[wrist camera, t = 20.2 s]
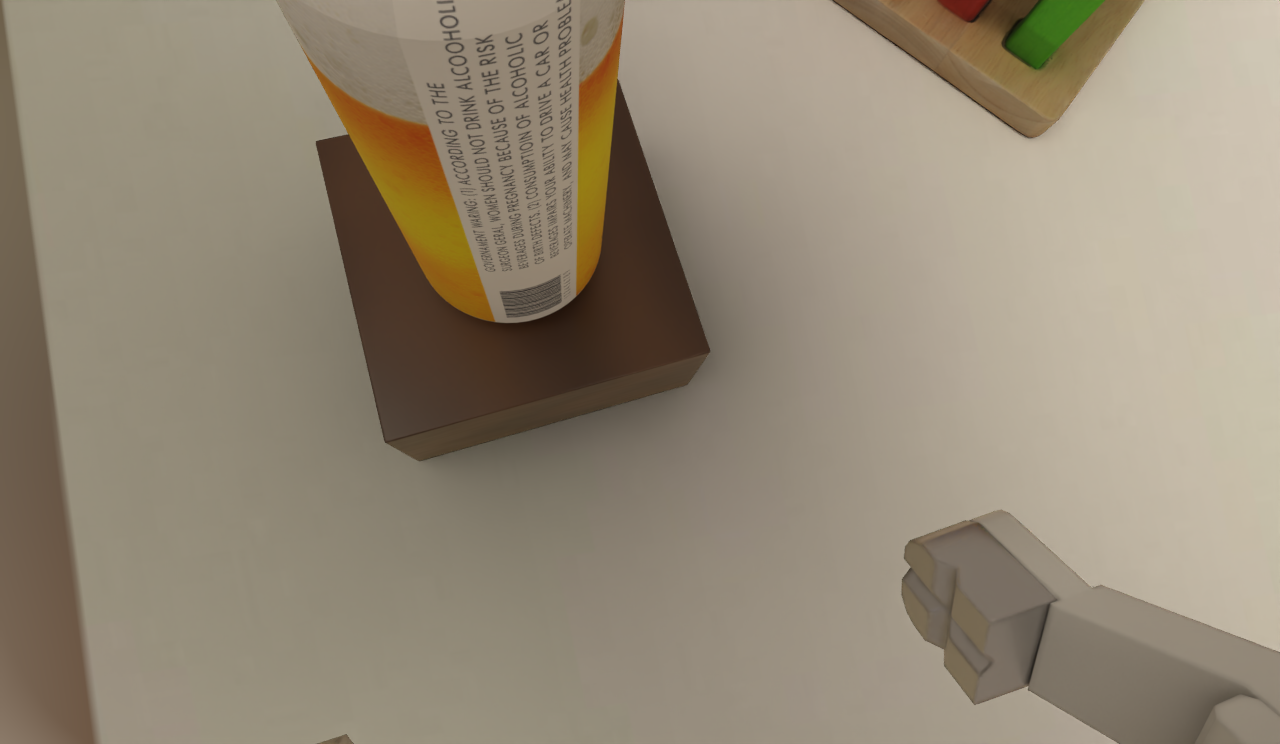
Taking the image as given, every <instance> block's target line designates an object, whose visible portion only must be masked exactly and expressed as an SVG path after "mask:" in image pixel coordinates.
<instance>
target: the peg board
mask: <svg viewBox="0 0 1280 744" xmlns="http://www.w3.org/2000/svg"><path fill="white" fill-rule="evenodd" d="M834 1H835V2H837V3H838V4H840V5H841V6H842V7H844V8H845V9H847V10H848V11H850V12H851V13H852V14H854V15H855V16H857V17H858V18H859V19H861V20H862V21H864V22H865V23H866V24H868V25H869V26H871V27H872V28H873V29H875V30H876V31H878V32H879V33H881V34H882V35H883V36H885V37H886V38H888V39H889V40H891V41H892V42H893V43H895V44H896V45H898V46H899V47H901V48H902V49H903V50H905V51H906V52H908V53H909V54H911V55H912V56H913V57H915V58H916V59H918V60H919V61H921V62H922V63H923V64H925V65H926V66H928V67H929V68H931V69H932V70H934V71H935V72H936V73H937V74H939V75H940V76H941V77H943V78H944V79H946V80H947V81H949V82H950V83H951V84H953V85H954V86H956V87H957V88H958V89H960V90H961V91H962V92H964V93H965V94H967V95H968V96H970V97H971V98H972V99H974V100H975V101H976V102H978V103H979V104H981V105H982V106H983V107H985V108H986V109H988V110H989V111H991V112H992V113H993V114H995V115H996V116H998V117H999V118H1000V119H1002V120H1003V121H1004V122H1006V123H1007V124H1009V125H1010V126H1012V127H1013V128H1014V129H1016V130H1017V131H1019V132H1020V133H1022V134H1024V135H1025V136H1027V137H1037V136H1039V135H1041V134H1042V133H1044V132H1045V131H1046V130H1047V129H1048V128H1049V127H1051V126H1052V125H1053V124H1054V123H1055V122H1056V121H1057V120H1059V118H1060V117H1061V116H1062V114H1063V113H1064V112H1065V110H1066V109H1067V108H1068V106H1069V105H1070V103H1071V102H1072V101H1073V99H1074V98H1075V96H1076V95H1077V94H1078V92H1079V91H1080V89H1081V88H1082V87H1083V85H1084V84H1085V82H1086V81H1087V80H1088V78H1089V77H1090V76H1091V74H1092V73H1093V71H1094V70H1095V68H1096V67H1097V66H1098V65H1099V63H1100V62H1101V60H1102V59H1103V57H1104V56H1105V55H1106V53H1107V52H1108V51H1109V49H1110V48H1111V47H1112V45H1113V44H1114V42H1115V41H1116V39H1117V38H1118V36H1119V35H1120V34H1121V32H1122V31H1123V30H1124V28H1125V27H1126V25H1127V24H1128V23H1129V21H1130V20H1131V18H1132V17H1133V16H1134V14H1135V13H1136V11H1137V10H1138V9H1139V7H1140V6H1141V5H1142V3H1143V2H1144V0H834Z"/></svg>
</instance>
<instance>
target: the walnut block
mask: <svg viewBox="0 0 1280 744" xmlns="http://www.w3.org/2000/svg"><path fill="white" fill-rule="evenodd" d="M316 146H317V151H318V155H319V159H320V164H321V168H322V172H323V177H324V181H325V185H326V190H327V194H328V198H329V203H330V207H331V211H332V216H333V220H334V224H335V229H336V233H337V237H338V242H339V246H340V250H341V255H342V259H343V263H344V268H345V272H346V276H347V281H348V285H349V289H350V294H351V298H352V302H353V307H354V311H355V315H356V320H357V324H358V328H359V333H360V337H361V341H362V346H363V350H364V354H365V359H366V363H367V367H368V372H369V376H370V381H371V385H372V389H373V394H374V398H375V402H376V407H377V411H378V415H379V420H380V424H381V428H382V433H383V437H384V441H385V443H387V444H389V445H391V446H392V447H394V448H396V449H398V450H400V451H401V452H403V453H405V454H407V455H409V456H410V457H412V458H414V459H416V460H418V461H422V460H425V459H429V458H432V457H436V456H439V455H443V454H446V453H450V452H453V451H457V450H460V449H464V448H467V447H471V446H474V445H478V444H481V443H485V442H488V441H492V440H495V439H499V438H502V437H506V436H509V435H513V434H516V433H520V432H523V431H527V430H530V429H534V428H537V427H541V426H544V425H548V424H551V423H555V422H558V421H562V420H566V419H569V418H573V417H576V416H580V415H583V414H587V413H590V412H594V411H597V410H601V409H604V408H608V407H611V406H615V405H618V404H622V403H625V402H629V401H632V400H636V399H639V398H643V397H646V396H650V395H653V394H657V393H660V392H664V391H667V390H671V389H674V388H678V387H681V386H685V385H687V384H688V383H689V382H690V380H691V379H692V377H693V376H694V374H695V373H696V372H697V370H698V369H699V367H700V366H701V364H702V363H703V362H704V360H705V359H706V357H707V356H708V355H709V353H710V348H709V345H708V342H707V339H706V336H705V334H704V331H703V328H702V325H701V322H700V319H699V316H698V313H697V310H696V307H695V304H694V301H693V298H692V295H691V292H690V289H689V286H688V283H687V281H686V278H685V275H684V272H683V269H682V266H681V263H680V260H679V257H678V254H677V251H676V248H675V245H674V242H673V239H672V236H671V233H670V230H669V227H668V225H667V222H666V219H665V216H664V213H663V210H662V207H661V204H660V201H659V198H658V195H657V192H656V189H655V186H654V183H653V180H652V177H651V174H650V171H649V169H648V166H647V163H646V160H645V157H644V154H643V151H642V148H641V145H640V142H639V139H638V136H637V133H636V130H635V127H634V124H633V121H632V118H631V115H630V113H629V110H628V107H627V104H626V101H625V98H624V95H623V92H622V89H621V86H620V83H619V80H618V79H617V88H616V98H615V109H614V119H613V130H612V141H611V151H610V162H609V172H608V183H607V193H606V204H605V214H604V225H603V235H602V245H601V253H600V257H599V260H598V264H597V266H596V269H595V271H594V273H593V275H592V277H591V279H590V280H589V282H588V283H587V285H586V286H585V287H584V289H583V290H582V291H581V292H580V293H579V294H578V295H577V296H576V297H575V298H574V299H573V300H572V301H570V302H569V303H568V304H567V305H565V306H564V307H562V308H561V309H559V310H557V311H555V312H553V313H551V314H549V315H547V316H544V317H541V318H539V319H535V320H531V321H526V322H519V323H500V322H492V321H486V320H482V319H479V318H476V317H473V316H471V315H468V314H466V313H464V312H462V311H460V310H459V309H457V308H455V307H454V306H452V305H451V304H450V303H448V302H447V301H446V300H444V299H443V298H442V297H441V296H440V295H439V294H438V293H437V292H436V290H435V289H434V288H433V287H432V285H431V284H430V282H429V281H428V279H427V278H426V276H425V274H424V272H423V271H422V269H421V267H420V265H419V263H418V261H417V260H416V258H415V256H414V254H413V252H412V250H411V248H410V247H409V245H408V243H407V241H406V239H405V237H404V236H403V234H402V232H401V230H400V228H399V226H398V224H397V223H396V221H395V219H394V217H393V215H392V213H391V212H390V210H389V208H388V206H387V204H386V202H385V200H384V199H383V197H382V195H381V193H380V191H379V189H378V188H377V186H376V184H375V182H374V180H373V178H372V176H371V175H370V173H369V171H368V169H367V167H366V165H365V163H364V162H363V160H362V158H361V156H360V154H359V152H358V151H357V149H356V147H355V145H354V143H353V141H352V139H351V138H350V136H349V134H348V135H343V136H338V137H333V138H329V139H324V140H319V141H316Z"/></svg>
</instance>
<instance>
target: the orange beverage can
mask: <svg viewBox="0 0 1280 744" xmlns="http://www.w3.org/2000/svg"><path fill="white" fill-rule="evenodd" d="M276 1H277V3H278V5H279V7H280V8H281V10H282V12H283V14H284V16H285V18H286V19H287V21H288V23H289V25H290V27H291V29H292V31H293V32H294V34H295V36H296V38H297V40H298V42H299V43H300V45H301V47H302V49H303V51H304V53H305V55H306V56H307V58H308V60H309V62H310V64H311V66H312V67H313V69H314V71H315V73H316V75H317V77H318V79H319V80H320V82H321V84H322V86H323V88H324V90H325V91H326V93H327V95H328V97H329V99H330V101H331V103H332V104H333V106H334V108H335V110H336V112H337V114H338V115H339V117H340V119H341V121H342V123H343V125H344V127H345V128H346V130H347V132H348V134H349V136H350V138H351V139H352V141H353V143H354V145H355V147H356V149H357V151H358V152H359V154H360V156H361V158H362V160H363V162H364V163H365V165H366V167H367V169H368V171H369V173H370V175H371V176H372V178H373V180H374V182H375V184H376V186H377V188H378V189H379V191H380V193H381V195H382V197H383V199H384V200H385V202H386V204H387V206H388V208H389V210H390V212H391V213H392V215H393V217H394V219H395V221H396V223H397V224H398V226H399V228H400V230H401V232H402V234H403V236H404V237H405V239H406V241H407V243H408V245H409V247H410V248H411V250H412V252H413V254H414V256H415V258H416V260H417V261H418V263H419V265H420V267H421V269H422V271H423V272H424V274H425V276H426V278H427V279H428V281H429V282H430V284H431V285H432V287H433V288H434V289H435V290H436V292H437V293H438V294H439V295H440V296H441V297H442V298H443V299H444V300H446V301H447V302H448V303H450V304H451V305H452V306H454V307H455V308H457V309H459V310H460V311H462V312H464V313H466V314H468V315H471V316H473V317H476V318H479V319H482V320H486V321H492V322H500V323H519V322H526V321H531V320H535V319H539V318H541V317H544V316H547V315H549V314H551V313H553V312H555V311H557V310H559V309H561V308H562V307H564V306H565V305H567V304H568V303H569V302H570V301H572V300H573V299H574V298H575V297H576V296H577V295H578V294H579V293H580V292H581V291H582V290H583V289H584V287H585V286H586V285H587V283H588V282H589V280H590V279H591V277H592V275H593V273H594V271H595V269H596V266H597V264H598V260H599V257H600V253H601V245H602V235H603V225H604V214H605V204H606V193H607V183H608V172H609V162H610V151H611V141H612V130H613V119H614V109H615V98H616V88H617V77H618V67H619V56H620V46H621V35H622V25H623V14H624V4H625V0H276Z"/></svg>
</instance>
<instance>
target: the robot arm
mask: <svg viewBox="0 0 1280 744" xmlns="http://www.w3.org/2000/svg"><path fill="white" fill-rule="evenodd" d="M904 559H905V561H906V562H907V563H908V564H909V566H910V567H911V568H910V569H909V570H908V572H907V573H906V574H905V576H904V577H903V579H902V594H901V595H902V598H903V601H904V605H905V608H906V611H907V614H908V615H909V617H910V619H911V621H912V623H913V625H914V626H915V628H916V629H917V630H918V632H919V633H920V634H921V636H922V637H923V639H924V640H925V641H927V642H929V643H932V644H934V645H936V646H938V647H940V648H942V649H944V666H945V667H946V669H947V670H948V671H949V673H950V674H951V675H952V677H953V678H954V679H955V680H956V682H957V683H958V684H959V686H960V687H961V688H962V690H963V691H964V692H965V693H966V695H967V696H968V697H969V699H970V700H971V701H972V703H973V704H974V705H976V704H979V703H982V702H985V701H988V700H990V699H993V698H996V697H999V696H1002V695H1004V694H1007V693H1010V692H1013V691H1016V690H1019V689H1021V688H1024V687H1027V686H1029V687H1028V690H1029V691H1031V692H1033V693H1034V694H1036V695H1038V696H1039V697H1041V698H1043V699H1044V700H1046V701H1048V702H1050V703H1051V704H1053V705H1055V706H1056V707H1058V708H1060V709H1061V710H1063V711H1065V712H1066V713H1068V714H1070V715H1072V716H1073V717H1075V718H1077V719H1078V720H1080V721H1082V722H1083V723H1085V724H1087V725H1089V726H1090V727H1092V728H1094V729H1095V730H1097V731H1099V732H1100V733H1102V734H1104V735H1106V736H1107V737H1109V738H1111V739H1112V740H1114V741H1116V742H1117V743H1119V744H1280V652H1277V651H1275V650H1272V649H1269V648H1267V647H1264V646H1261V645H1259V644H1256V643H1254V642H1251V641H1248V640H1246V639H1243V638H1240V637H1238V636H1235V635H1232V634H1230V633H1227V632H1224V631H1222V630H1219V629H1216V628H1214V627H1211V626H1209V625H1206V624H1203V623H1201V622H1198V621H1195V620H1193V619H1190V618H1187V617H1185V616H1182V615H1179V614H1177V613H1174V612H1171V611H1169V610H1166V609H1164V608H1161V607H1158V606H1156V605H1153V604H1150V603H1148V602H1145V601H1142V600H1140V599H1137V598H1134V597H1132V596H1129V595H1126V594H1124V593H1121V592H1119V591H1116V590H1113V589H1111V588H1108V587H1105V586H1103V585H1099V586H1096V587H1093V588H1092V587H1091V586H1089V585H1088V584H1087V583H1086V582H1085V581H1084V580H1083V579H1082V578H1081V577H1080V576H1078V575H1077V574H1076V573H1075V572H1074V571H1073V570H1072V569H1071V568H1070V567H1068V566H1067V565H1066V564H1065V563H1064V562H1063V561H1062V560H1061V559H1060V558H1059V557H1057V556H1056V555H1055V554H1054V553H1053V552H1052V551H1051V550H1050V549H1049V548H1048V547H1046V546H1045V545H1044V544H1043V543H1042V542H1041V541H1040V540H1039V539H1038V538H1037V537H1035V536H1034V535H1033V534H1032V533H1031V532H1030V531H1029V530H1028V529H1027V528H1026V527H1024V526H1023V525H1022V524H1021V523H1020V522H1019V521H1018V520H1017V519H1016V518H1014V517H1013V516H1012V515H1011V514H1010V513H1008V512H1005V511H1003V510H997V511H993V512H991V513H988V514H985V515H982V516H980V517H977V518H974V519H972V520H969V521H966V520H965V521H962V522H960V523H957V524H954V525H951V526H949V527H946V528H943V529H940V530H937V531H935V532H932V533H929V534H926V535H924V536H921V537H918V538H915V539H912V540H910V541H909V542H908V544H907V545H906V546H905V553H904ZM317 744H354V743H353V742H352V741H351V739H350V738H349V737H348V735H347V734H345V735H342V736H339V737H336V738H333V739H330V740H327V741H323V742H320V743H317Z"/></svg>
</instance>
